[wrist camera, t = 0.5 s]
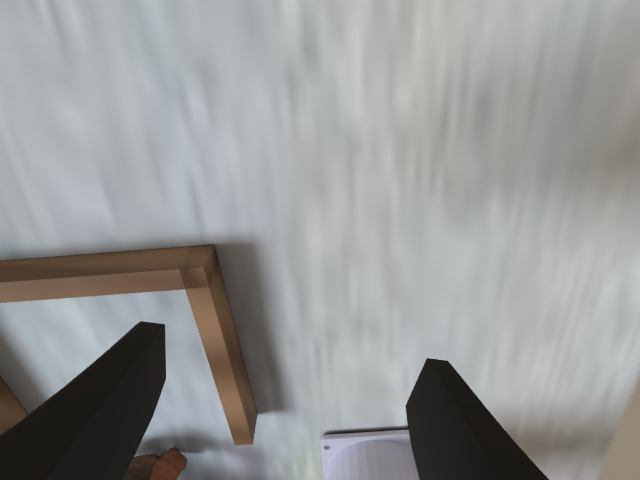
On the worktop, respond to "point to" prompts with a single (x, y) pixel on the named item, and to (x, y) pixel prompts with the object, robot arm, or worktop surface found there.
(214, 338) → the corral
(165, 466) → the pottery mug
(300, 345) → the worktop surface
